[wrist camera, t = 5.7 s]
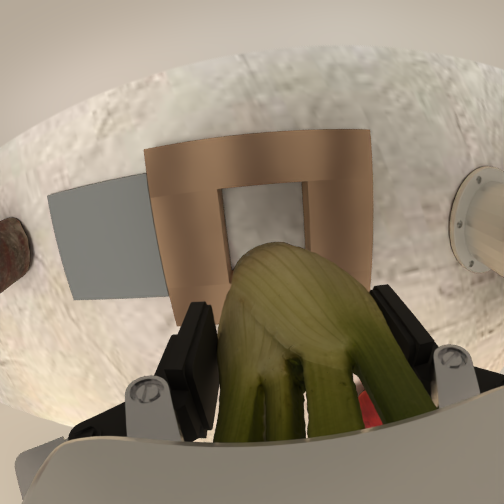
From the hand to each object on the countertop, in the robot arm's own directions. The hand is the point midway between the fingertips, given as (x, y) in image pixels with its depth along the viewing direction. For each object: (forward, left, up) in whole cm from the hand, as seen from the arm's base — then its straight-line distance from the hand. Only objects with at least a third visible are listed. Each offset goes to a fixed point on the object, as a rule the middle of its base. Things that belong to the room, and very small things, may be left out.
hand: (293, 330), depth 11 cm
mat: (+16, 0, -16) cm, 23 cm away
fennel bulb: (0, 0, -5) cm, 5 cm away
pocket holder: (0, 0, -16) cm, 16 cm away
